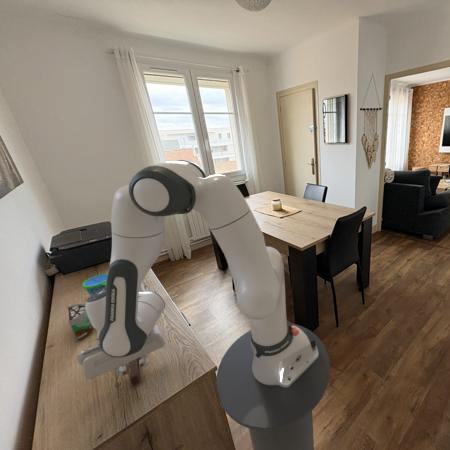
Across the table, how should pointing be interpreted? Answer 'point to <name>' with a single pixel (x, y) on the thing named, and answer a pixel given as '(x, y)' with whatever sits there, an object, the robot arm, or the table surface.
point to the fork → (134, 371)
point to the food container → (79, 321)
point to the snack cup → (95, 283)
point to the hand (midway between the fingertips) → (134, 369)
